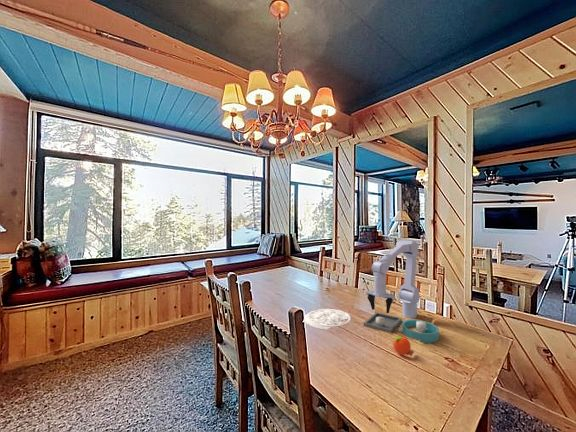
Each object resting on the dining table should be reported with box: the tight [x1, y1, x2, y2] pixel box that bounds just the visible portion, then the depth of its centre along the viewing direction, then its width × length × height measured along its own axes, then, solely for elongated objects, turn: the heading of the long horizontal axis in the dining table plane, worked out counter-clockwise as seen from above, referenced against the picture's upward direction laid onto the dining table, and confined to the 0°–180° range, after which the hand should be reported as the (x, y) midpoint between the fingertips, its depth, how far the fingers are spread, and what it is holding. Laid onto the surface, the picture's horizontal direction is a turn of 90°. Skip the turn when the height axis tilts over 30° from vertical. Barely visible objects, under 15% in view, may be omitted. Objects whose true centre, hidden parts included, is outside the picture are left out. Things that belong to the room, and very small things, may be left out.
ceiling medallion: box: [303, 308, 352, 331], centre depth 147 cm, size 28×28×3 cm
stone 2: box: [415, 320, 427, 333], centre depth 129 cm, size 4×4×4 cm
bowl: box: [401, 319, 440, 344], centre depth 126 cm, size 16×16×4 cm
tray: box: [363, 312, 403, 334], centre depth 138 cm, size 18×14×2 cm
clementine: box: [392, 335, 412, 355], centre depth 110 cm, size 8×7×7 cm
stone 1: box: [376, 317, 385, 327], centre depth 135 cm, size 4×4×4 cm
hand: (380, 310), depth 135 cm, fingers open, 7 cm apart
